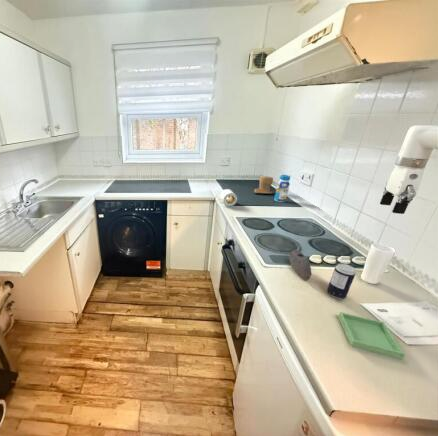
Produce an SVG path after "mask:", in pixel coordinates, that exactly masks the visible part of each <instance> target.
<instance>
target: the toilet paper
mask: <svg viewBox="0 0 438 436" xmlns="http://www.w3.org/2000/svg"><path fill="white" fill-rule="evenodd" d="M219 198H220V200H221V201H222V202H223V204H224V205H225V206H227V207H232V206H234V205H236V204H237V202H238V196H237V194H235V193H234V192H233V190H231V189H229V188H227V189H226V188H225V189H223V190H221V192H220V194H219Z"/></svg>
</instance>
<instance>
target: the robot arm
mask: <svg viewBox="0 0 438 436" xmlns="http://www.w3.org/2000/svg"><path fill="white" fill-rule="evenodd" d="M434 149H435V150H438V125H436V124H435V125H434V124H416V125H412V126H410V127H409V128H408V131H407V132H406V135H405V137H404V140H403V143H402V144H401V147H400V149H399V152H398V155H397V157H396V160H395V161H394V165H393V166H394V168H393V170H392V172H391V174H390V176H389V178H388V180H387V181H386V183H385V187H384V191H383V193H382V197H381V200H380V202H379V205H382V206H391V205H392V203H393V200H394V198H395V196H396V197H397V201H395V204H394V206H393V209H392V211H391V213H393V214H399V215H404V214H405V213H406V211H407V208H408V207H409V204H411V201H413V199H414V198H415V197H416V196H417V193H418V190H419V188H420V186H421V182H422V179H423V175H424V171H425V169H426V166H427V164H428V161H429V159H430V158H431V155H432V153H433V150H434Z"/></svg>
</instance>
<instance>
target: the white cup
mask: <svg viewBox="0 0 438 436" xmlns="http://www.w3.org/2000/svg"><path fill="white" fill-rule="evenodd" d="M395 253H396V249H394V248H393V247H391V246H389V245H386V244H382V243H372V244H371V245H370V247H369V248H368V252H367V255H366V257H365V261H364V265H363V269H362V272H361V275H360V278H361V280H362V281H364V282H366V283H367V284H371V285H377V284H378V283H379V282H380V280H381V279H382V276H383V275H384V274H385V272H386V270H387V269H388V267H389V265H390V264H391V262H392V260H393V259H394V256H395Z"/></svg>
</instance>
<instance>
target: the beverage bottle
mask: <svg viewBox="0 0 438 436" xmlns="http://www.w3.org/2000/svg"><path fill="white" fill-rule="evenodd" d="M290 179H291V175H289V174H281V175H280V176H279V181H278V182H277V185H276V189H275V194H274V198H273V200H274V201H275V202H277V203H286V201H287V196H288V193H289V189H290V187H289V186H290V185H291V184H290Z"/></svg>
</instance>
